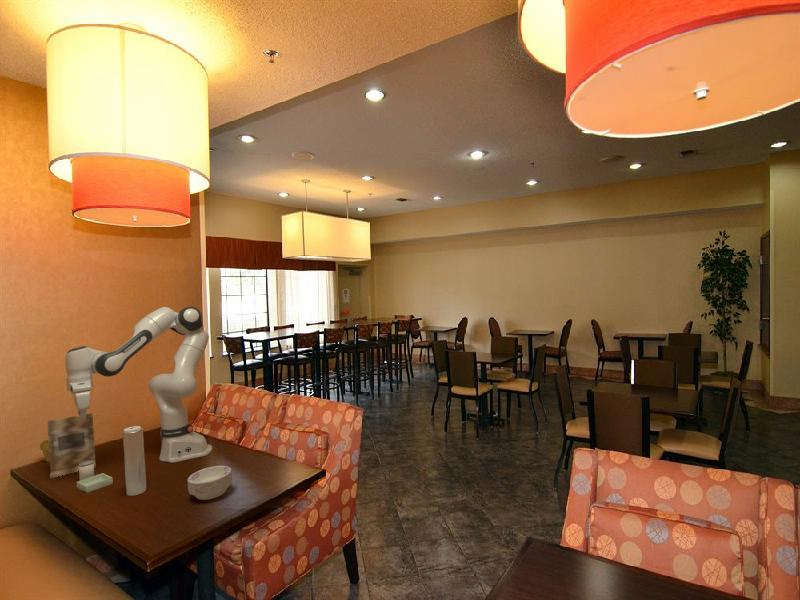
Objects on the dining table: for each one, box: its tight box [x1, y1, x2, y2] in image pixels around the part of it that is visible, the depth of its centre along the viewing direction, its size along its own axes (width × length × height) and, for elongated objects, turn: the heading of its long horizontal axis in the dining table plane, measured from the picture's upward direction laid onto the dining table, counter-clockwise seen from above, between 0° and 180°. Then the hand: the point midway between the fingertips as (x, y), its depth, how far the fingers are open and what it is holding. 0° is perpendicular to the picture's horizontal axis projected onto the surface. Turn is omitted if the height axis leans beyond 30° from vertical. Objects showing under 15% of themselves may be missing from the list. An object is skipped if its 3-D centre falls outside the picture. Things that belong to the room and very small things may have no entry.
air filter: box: [122, 425, 147, 497], centre depth 161 cm, size 6×6×25 cm
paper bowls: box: [187, 465, 233, 501], centre depth 156 cm, size 15×15×8 cm
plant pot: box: [39, 439, 50, 462], centre depth 201 cm, size 10×10×10 cm
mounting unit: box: [47, 413, 97, 479], centre depth 187 cm, size 16×10×23 cm, turn 127°
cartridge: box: [78, 460, 95, 481], centre depth 176 cm, size 5×5×7 cm
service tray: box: [76, 472, 114, 494], centre depth 169 cm, size 9×9×2 cm
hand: (82, 416), depth 178 cm, fingers open, 8 cm apart
